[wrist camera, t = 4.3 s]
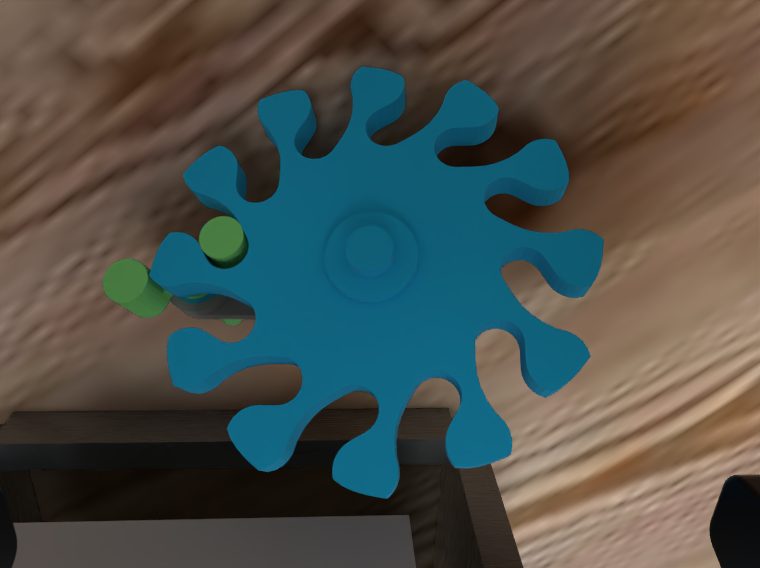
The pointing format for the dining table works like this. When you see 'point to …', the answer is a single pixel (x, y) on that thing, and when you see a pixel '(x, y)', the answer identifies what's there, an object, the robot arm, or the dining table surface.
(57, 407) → the dining table surface
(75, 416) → the grey drawer box
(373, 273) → the gear
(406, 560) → the sliding box lid
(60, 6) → the dining table surface
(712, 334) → the dining table surface
